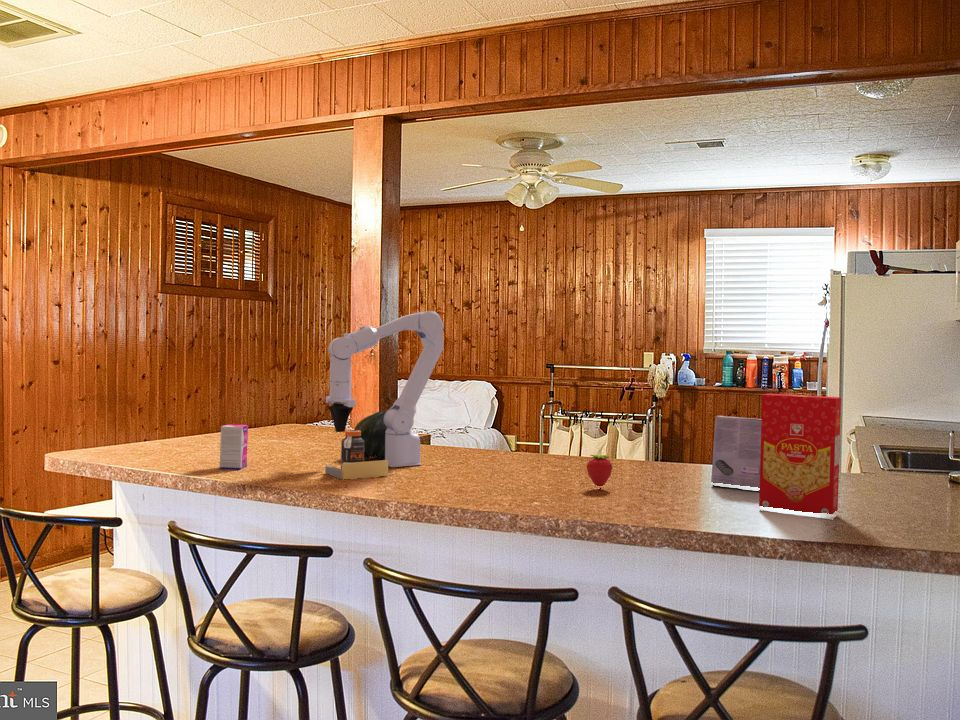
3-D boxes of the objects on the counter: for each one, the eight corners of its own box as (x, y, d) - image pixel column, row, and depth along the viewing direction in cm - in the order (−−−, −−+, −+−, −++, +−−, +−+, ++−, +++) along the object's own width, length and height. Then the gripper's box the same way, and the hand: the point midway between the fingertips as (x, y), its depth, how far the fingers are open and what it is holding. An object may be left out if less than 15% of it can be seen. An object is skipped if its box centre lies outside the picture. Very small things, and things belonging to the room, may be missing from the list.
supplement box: (241, 470, 213) (241, 426, 213) (218, 469, 213) (219, 426, 213) (248, 466, 219) (248, 424, 219) (226, 466, 219) (226, 423, 219)
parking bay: (368, 469, 217) (368, 454, 217) (387, 476, 208) (388, 460, 208) (325, 473, 210) (325, 458, 210) (343, 480, 201) (343, 464, 201)
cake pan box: (795, 493, 195) (797, 419, 195) (792, 496, 191) (794, 421, 190) (715, 484, 205) (717, 414, 204) (710, 487, 200) (712, 416, 200)
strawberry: (581, 490, 193) (582, 448, 193) (593, 485, 200) (594, 445, 199) (605, 493, 190) (606, 450, 190) (616, 488, 197) (617, 447, 196)
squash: (344, 436, 244) (355, 402, 235) (391, 436, 250) (404, 403, 241) (352, 473, 234) (364, 439, 225) (401, 472, 241) (415, 439, 232)
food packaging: (758, 510, 174) (762, 394, 173) (765, 506, 178) (768, 393, 177) (832, 520, 165) (836, 398, 165) (837, 516, 170) (841, 397, 169)
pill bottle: (351, 476, 207) (352, 432, 206) (336, 473, 210) (336, 430, 210) (368, 473, 211) (369, 430, 211) (353, 470, 215) (353, 428, 215)
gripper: (315, 380, 223) (315, 429, 224) (338, 383, 211) (338, 435, 212) (339, 380, 227) (338, 428, 228) (363, 383, 215) (362, 433, 216)
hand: (340, 431), depth 220 cm, fingers closed
